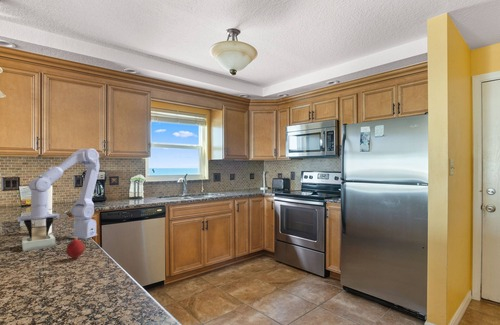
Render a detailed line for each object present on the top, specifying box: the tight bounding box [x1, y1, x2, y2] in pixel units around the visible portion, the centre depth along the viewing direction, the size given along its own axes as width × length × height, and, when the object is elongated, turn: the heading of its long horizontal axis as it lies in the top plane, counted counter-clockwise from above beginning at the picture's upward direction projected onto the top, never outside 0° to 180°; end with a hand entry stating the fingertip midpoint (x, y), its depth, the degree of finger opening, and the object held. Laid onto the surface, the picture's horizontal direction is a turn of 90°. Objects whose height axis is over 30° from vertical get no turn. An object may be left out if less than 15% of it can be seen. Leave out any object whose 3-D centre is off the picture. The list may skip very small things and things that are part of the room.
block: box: [31, 226, 46, 241], centre depth 123 cm, size 5×5×6 cm
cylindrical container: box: [34, 184, 54, 235], centre depth 147 cm, size 7×7×25 cm
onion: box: [65, 237, 86, 260], centre depth 105 cm, size 6×6×8 cm
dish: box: [21, 233, 56, 252], centre depth 122 cm, size 11×11×4 cm
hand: (38, 236), depth 122 cm, fingers closed on block, 5 cm apart
